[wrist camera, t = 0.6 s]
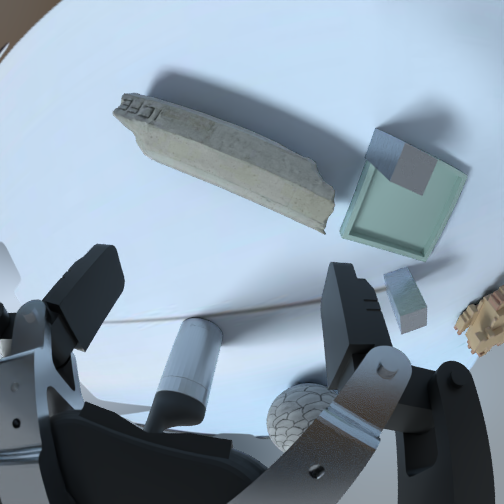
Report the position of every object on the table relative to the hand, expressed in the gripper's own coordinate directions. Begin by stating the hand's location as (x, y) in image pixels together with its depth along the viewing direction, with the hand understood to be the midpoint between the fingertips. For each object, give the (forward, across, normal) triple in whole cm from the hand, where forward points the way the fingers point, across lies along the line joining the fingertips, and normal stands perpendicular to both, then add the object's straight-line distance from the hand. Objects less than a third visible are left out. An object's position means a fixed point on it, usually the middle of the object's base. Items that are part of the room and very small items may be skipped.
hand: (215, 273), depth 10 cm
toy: (+29, +54, -27) cm, 67 cm away
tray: (+28, +21, -6) cm, 36 cm away
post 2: (+29, +24, -21) cm, 43 cm away
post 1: (+28, +16, +1) cm, 33 cm away
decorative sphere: (+30, +14, -59) cm, 67 cm away
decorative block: (+29, -5, -2) cm, 29 cm away
